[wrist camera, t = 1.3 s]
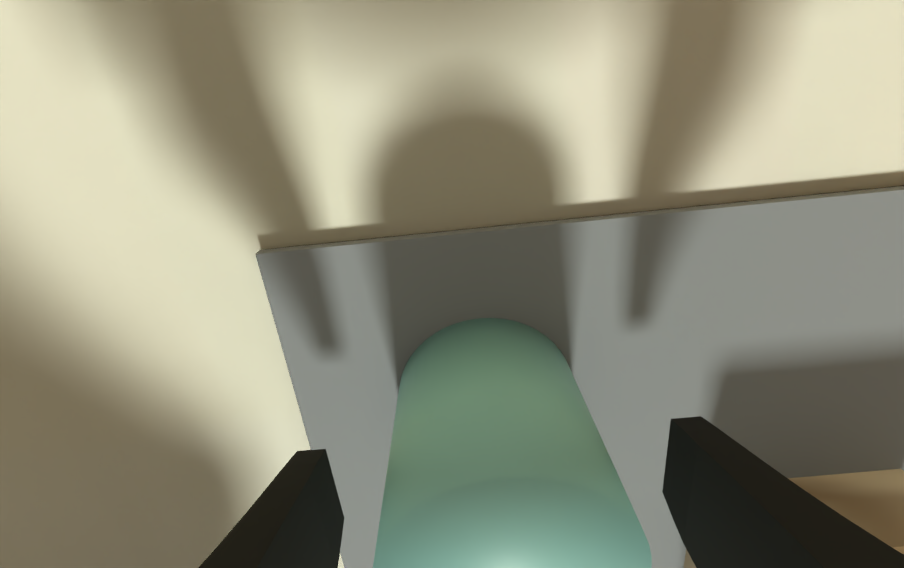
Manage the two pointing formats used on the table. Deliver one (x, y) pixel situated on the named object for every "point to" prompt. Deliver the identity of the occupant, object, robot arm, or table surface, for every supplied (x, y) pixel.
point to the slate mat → (622, 335)
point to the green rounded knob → (500, 461)
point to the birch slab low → (860, 501)
